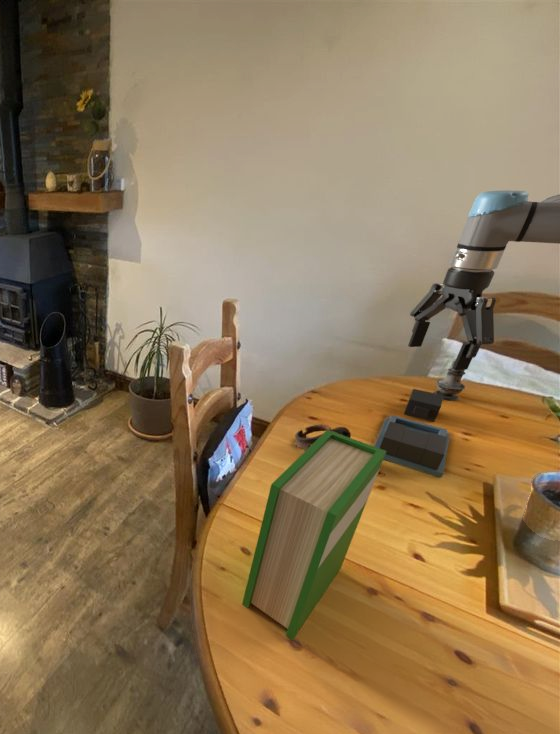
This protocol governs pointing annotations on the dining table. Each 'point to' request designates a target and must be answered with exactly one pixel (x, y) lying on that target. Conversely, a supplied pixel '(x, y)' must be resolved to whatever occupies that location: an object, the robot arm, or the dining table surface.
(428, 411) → the black box
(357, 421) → the dining table surface
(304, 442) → the dark brown curved piece
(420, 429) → the board
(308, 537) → the hardback book
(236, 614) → the dining table surface
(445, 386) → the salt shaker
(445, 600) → the dining table surface
